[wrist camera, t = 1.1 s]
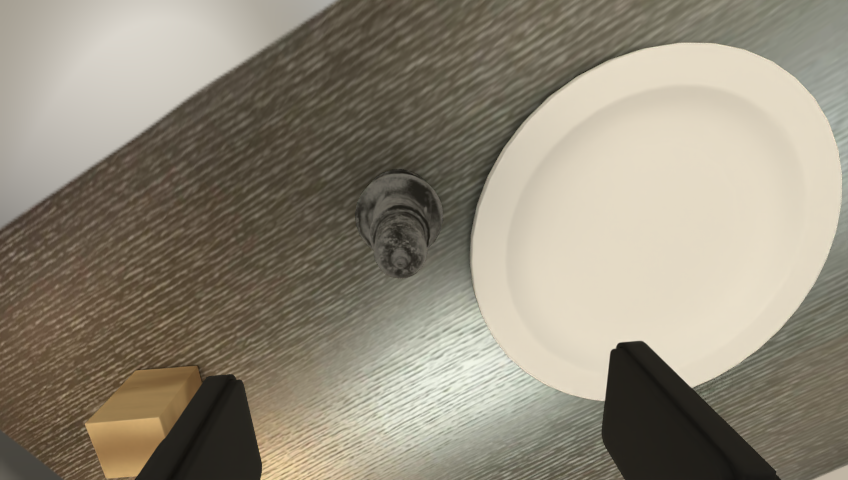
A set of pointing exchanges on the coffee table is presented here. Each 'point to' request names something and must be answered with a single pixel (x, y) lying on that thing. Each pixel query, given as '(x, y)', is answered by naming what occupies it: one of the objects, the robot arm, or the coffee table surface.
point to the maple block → (140, 417)
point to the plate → (656, 216)
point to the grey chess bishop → (399, 221)
